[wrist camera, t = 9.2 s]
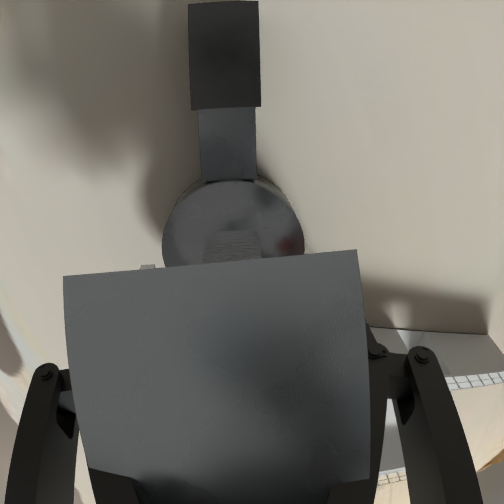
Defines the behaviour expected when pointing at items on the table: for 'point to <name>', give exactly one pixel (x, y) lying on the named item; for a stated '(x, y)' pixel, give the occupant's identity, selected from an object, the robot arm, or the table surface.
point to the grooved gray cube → (223, 378)
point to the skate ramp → (453, 367)
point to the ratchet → (228, 150)
